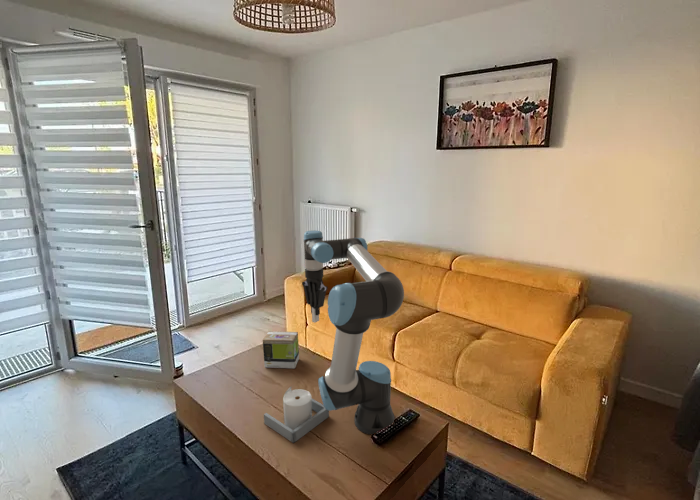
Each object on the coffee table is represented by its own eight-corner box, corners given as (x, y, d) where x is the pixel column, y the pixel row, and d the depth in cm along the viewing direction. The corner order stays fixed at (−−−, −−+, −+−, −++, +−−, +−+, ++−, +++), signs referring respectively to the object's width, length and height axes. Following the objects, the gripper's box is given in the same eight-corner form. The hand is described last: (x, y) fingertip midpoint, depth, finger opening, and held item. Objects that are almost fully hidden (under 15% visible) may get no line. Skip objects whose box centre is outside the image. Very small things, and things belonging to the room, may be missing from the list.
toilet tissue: (300, 433, 141) (299, 409, 138) (275, 422, 147) (274, 399, 144) (317, 417, 150) (317, 394, 147) (293, 407, 156) (292, 385, 153)
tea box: (299, 358, 193) (298, 331, 189) (294, 369, 183) (293, 340, 180) (270, 357, 194) (268, 330, 191) (263, 368, 185) (262, 339, 181)
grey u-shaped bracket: (329, 416, 150) (328, 407, 149) (293, 443, 136) (292, 433, 135) (300, 400, 160) (299, 391, 159) (264, 423, 146) (263, 414, 145)
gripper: (331, 268, 158) (332, 322, 164) (309, 263, 167) (311, 314, 172) (319, 273, 153) (320, 328, 158) (296, 267, 161) (298, 320, 167)
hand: (315, 321), depth 165 cm, fingers closed
